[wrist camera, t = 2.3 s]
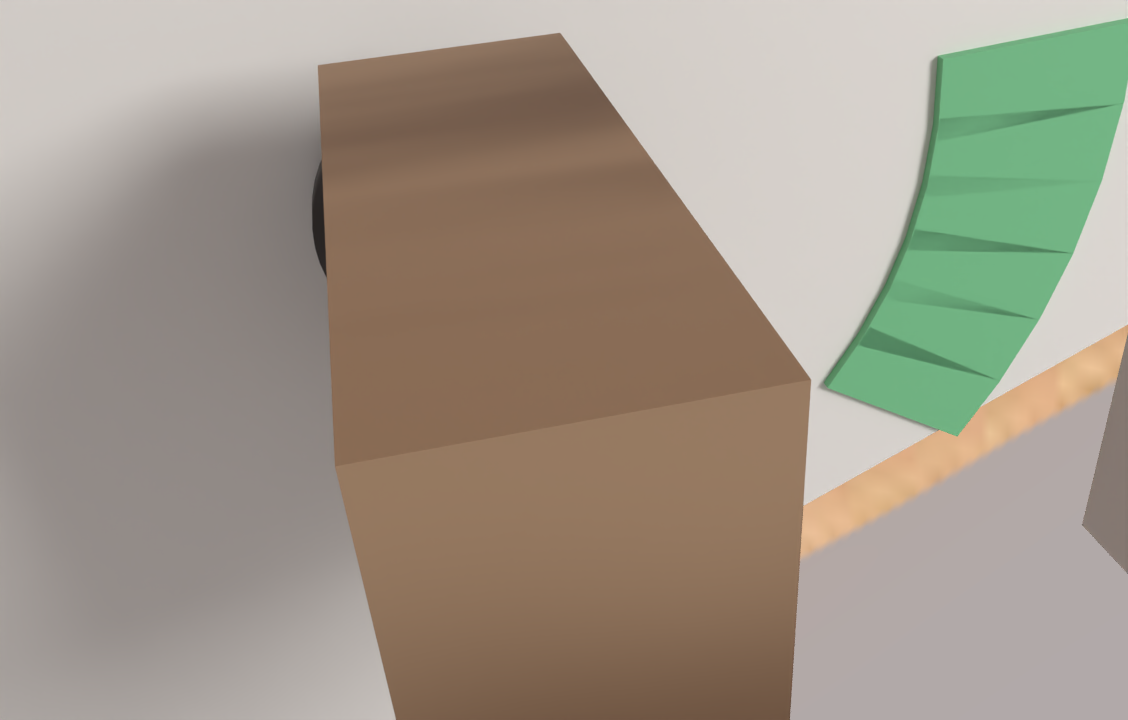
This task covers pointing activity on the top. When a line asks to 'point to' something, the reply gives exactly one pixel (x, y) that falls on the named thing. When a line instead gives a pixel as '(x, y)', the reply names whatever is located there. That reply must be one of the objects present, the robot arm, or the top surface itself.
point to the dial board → (300, 302)
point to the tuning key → (549, 403)
